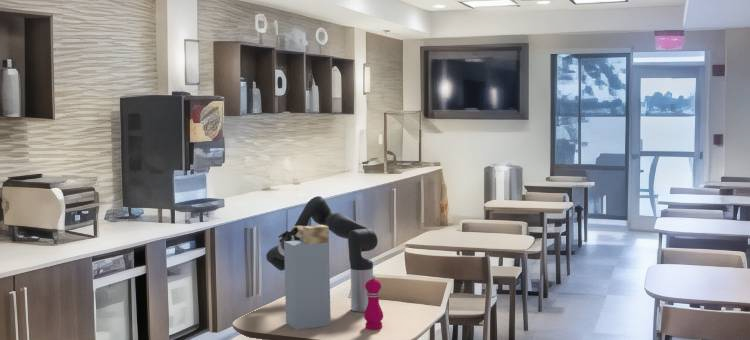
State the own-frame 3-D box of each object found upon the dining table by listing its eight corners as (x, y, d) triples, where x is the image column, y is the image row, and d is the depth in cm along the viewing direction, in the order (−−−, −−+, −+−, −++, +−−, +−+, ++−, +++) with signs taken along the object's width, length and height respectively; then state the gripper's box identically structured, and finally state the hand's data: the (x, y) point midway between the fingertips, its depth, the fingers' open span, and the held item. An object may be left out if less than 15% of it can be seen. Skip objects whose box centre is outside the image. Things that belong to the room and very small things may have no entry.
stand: (319, 318, 322) (317, 235, 320) (330, 325, 312) (328, 239, 310) (286, 323, 316) (283, 238, 314) (296, 330, 306) (294, 242, 304)
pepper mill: (381, 330, 304) (380, 277, 302) (362, 329, 305) (361, 276, 304) (385, 325, 311) (384, 273, 310) (366, 324, 312) (365, 273, 311)
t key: (305, 233, 331) (305, 219, 331) (328, 242, 310) (328, 226, 309) (287, 235, 328) (286, 220, 327) (309, 244, 306) (308, 228, 306)
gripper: (307, 251, 340) (320, 235, 326) (274, 254, 334) (286, 239, 319) (303, 234, 343) (316, 218, 329) (271, 237, 336) (282, 221, 322)
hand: (301, 228), depth 324 cm, fingers closed on t key, 3 cm apart
